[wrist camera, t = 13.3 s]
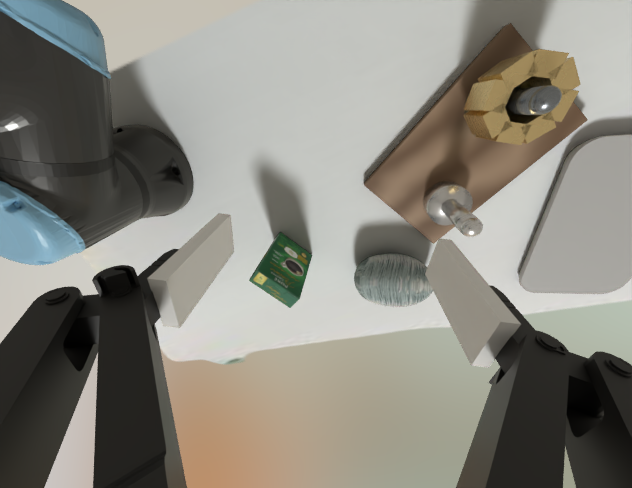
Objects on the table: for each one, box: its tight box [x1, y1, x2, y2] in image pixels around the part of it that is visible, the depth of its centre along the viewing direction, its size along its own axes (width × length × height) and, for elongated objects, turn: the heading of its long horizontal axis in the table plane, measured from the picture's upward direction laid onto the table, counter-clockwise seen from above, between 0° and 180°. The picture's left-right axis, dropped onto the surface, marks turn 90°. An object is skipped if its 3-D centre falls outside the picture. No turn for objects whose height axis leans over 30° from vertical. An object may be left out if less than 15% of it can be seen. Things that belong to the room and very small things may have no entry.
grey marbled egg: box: [354, 254, 433, 307], centre depth 44 cm, size 14×10×10 cm
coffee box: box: [249, 232, 312, 308], centre depth 42 cm, size 8×3×13 cm, turn 52°
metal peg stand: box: [464, 85, 562, 117], centre depth 26 cm, size 6×6×11 cm
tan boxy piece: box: [463, 49, 580, 145], centre depth 27 cm, size 8×8×5 cm
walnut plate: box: [364, 23, 588, 243], centre depth 35 cm, size 16×24×2 cm, turn 143°
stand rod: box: [423, 181, 483, 237], centre depth 33 cm, size 6×6×11 cm
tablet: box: [519, 134, 632, 294], centre depth 38 cm, size 16×26×2 cm, turn 4°
